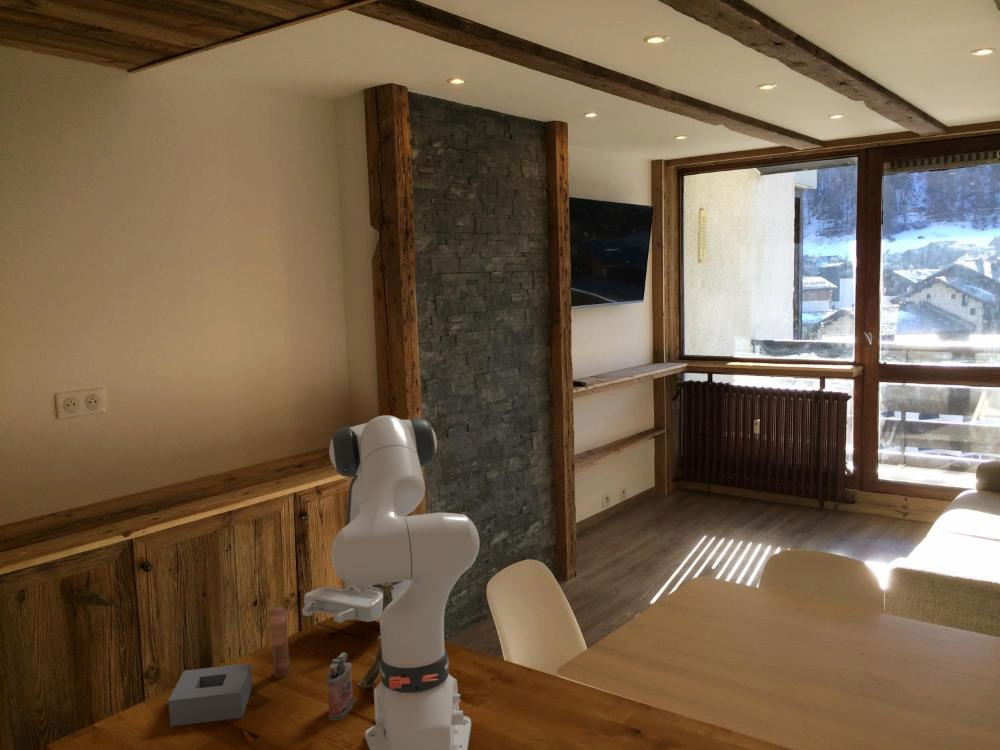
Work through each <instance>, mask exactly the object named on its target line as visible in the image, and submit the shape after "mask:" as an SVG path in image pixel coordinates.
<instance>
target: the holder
mask: <svg viewBox="0 0 1000 750" xmlns="http://www.w3.org/2000/svg"><path fill="white" fill-rule="evenodd" d="M177 681H178V682H177V683H176V685H175V687H174V688H173V691H172V693H171V694H170V696H169V698H168V701H167V703H168V710H169V711H168V712H169V713H168V714H169V722H170V723H169V724H170V727H177V726H184V725H194V724H202V723H210V722H211V723H212V722H217V721H218V722H220V721H226V720H234V719H235V720H236V719H243V718H244V714H245V712H246V708H247V705H248V702H249V699H250V695H251V693H252V689H253V678H252V667H251V663H250V662H249V663H248V662H247V663H240V664H233V665H232V664H231V665H223V666H215V667H214V666H213V667H206V668H196V669H195V668H194V669H187V670H183V672H182V673H181V675H180V678H179V679H178V680H177Z"/></svg>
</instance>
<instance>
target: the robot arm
mask: <svg viewBox="0 0 1000 750" xmlns="http://www.w3.org/2000/svg"><path fill="white" fill-rule="evenodd" d="M437 448H438V441H437V436H436V432H435V431H434V429H433V427H432V424H431V423H430V422H429V421H427V419H425V418H418V417H411V418H410V419H400V418H398V417H397V416H395V415H394V416H393V415H386V414H385V415H384V414H383V415H380V416H379V415H378V416H376V417H374V418H372V419H371V420H369V421H368V422H366V423H362V424H357V425H354V426H350V425H348V426H344V427H342V428H338V429H337V430H335V432H334V433H333V434H332V435H331V440H330V443H329V453H328V455H329V459H330V462H331V464H332V465H333V468H334V469H335V470H336V472H337V474H338V475H340V476H341V477H345V478H346V477H347V478H352V479H351V481H350V484H349V488H348V495H347V508H346V523H345V526H344V527H342V528H341V529H340V530H339V531H338V532H337V534H336V536H335V537H334V539H333V541H332V545H331V551H330V558H331V563H332V566H333V570H334V571H335V573H336V575H337V576H338V578H339V579H341V580H342V581H343V582H344V586H343V588H341V587H336V586H335V587H334V586H329V585H328V586H323V587H319V588H316V589H314V590H311V591H308V592H306V593H305V594H304V595H303V597H304V599H303V600H304V601H303V602H304V606H303V607H302V609H301V611H302V612H301V613H302V616H306V617H310V616H312V615H314V613H313V612H317V613H323V614H327V615H330V616H331V615H332V616H333V622H334V623H338V624H341V623H343V622H344V621H351V620H356V621H361V622H365V623H366V622H367V623H369V622H374V621H377V620H379V629H380V630H379V631H380V636H381V647H382V656H381V658H380V679H381V681H380V683H379V684H378V685H377V686H376V687H375V688H374V689H373V698H374V699H373V700H374V719H373V724H374V725H373V726H371V727H370V728H368V729H366V730H365V732H364V738H365V741H366V744H367V746H368V749H369V750H468V749H469V742H470V737H471V736H470V735H471V728H472V721H471V720H472V719H471V718H470V717H469V716H467V715H466V716H465V715H464V710H462V709H461V710H460V705H459V703H461V701H462V700H461V693H459V692H458V691H459V690H458V681H457V679H456V678H454V677H453V676H452V675H451V674H450V672H449V669H450V668H449V664H450V663H449V657H448V652H447V651H448V650H447V649H446V648H445V611H446V606H447V602H448V599H449V597H450V594H451V591H452V590H453V588H454V586H455V585H456V583H457V581H458V580H459V579H460V578H461V576H462V575H463V574H464V573H465V572H466V571H468V569H470V568H471V567H472V566H473V564H474V563H475V561H476V559H477V557H478V554H479V550H480V545H481V544H480V536H479V532H478V529H477V527H476V525H475V524H474V522H473V521H472V520H471V519H470V517H468V516H467V515H466V514H463V513H454V512H431V513H423V514H415V515H414V514H413V515H410V514H411V513H413V512H414V511H415V510H416V508H418V506H419V505H420V504H421V503H422V500H423V498H424V497H425V493H426V485H425V480H424V475H423V471H422V468H423V467H426V466H428V465H430V464H432V462H433V461H434V460H435V459H436V452H437ZM384 583H392V584H393V585H392V586H393V587H394V588H395V589H393V590H391V593H392V599H393V601H392V602H390V603H389V604H388V605H387V607H386V608H385V609H384V611H383V591H382V590H381V589H380V587H381V586H382V585H381V584H384ZM382 611H383V613H382Z"/></svg>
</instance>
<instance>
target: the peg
mask: <svg viewBox="0 0 1000 750" xmlns="http://www.w3.org/2000/svg"><path fill="white" fill-rule="evenodd" d="M268 611H269V621H270V622H269V624H270V634H271V635H270V636H271V648H272V661H273V670H274V671H273V673H274V674H273V675H274V677H275V678H279V679H280V678H285V677H288V676H290V674H291V667H290V665H291V664H290V656H289V655H290V653H289V642H288V627H287V617H286V608H285V607H284V606H276V607H272V608H270V609H269V610H268Z"/></svg>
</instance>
